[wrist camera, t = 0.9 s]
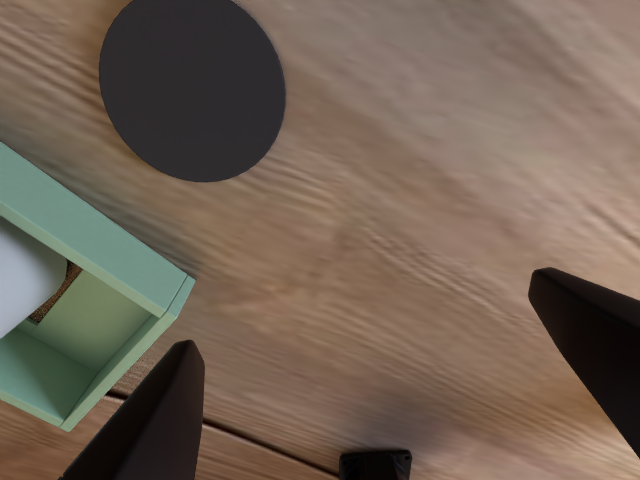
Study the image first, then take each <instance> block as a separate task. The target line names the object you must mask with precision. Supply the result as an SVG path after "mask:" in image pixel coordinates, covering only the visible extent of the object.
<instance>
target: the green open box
mask: <svg viewBox="0 0 640 480" xmlns="http://www.w3.org/2000/svg"><path fill="white" fill-rule="evenodd" d="M0 216H2V217H4V218H5V219H7V220H8V221H10V222H11V223H13V224H14V225H16V226H17V227H19V228H20V229H22V230H24V231H25V232H27V233H28V234H30V235H31V236H33V237H34V238H36V239H37V240H39V241H41V242H42V243H44V244H45V245H47V246H48V247H50V248H51V249H53V250H54V251H56V252H58V253H59V254H61V255H62V256H64V257H65V258H67V259H68V260H70V261H71V262H73V263H75V264H76V265H78V266H79V267H81V268H82V269H83V270H82V271H81V273H80V274H79V275H78V276H77V277H76V279H75V280H74V281H73V282H72V284H71V285H70V286H69V287H68V288H67V290H66V291H65V292H64V293H63V295H62V296H61V297H60V298H59V299H58V301H57V302H56V303H55V304H54V306H53V307H52V308H51V309H50V310H49V312H48V313H47V314H46V315H45V316H44V318H43V319H42V320H41V321H40V323H37V322H36V321H34V320H32V319H30V318H29V317H26V318H25V319H24V320H23V321H22V322H20V323H19V324H18V325H17V326H16V327H14V328H13V329H12V330H11V331H9V332H8V333H7V334H6V335H5V336H3V337H2V338H1V339H0V399H1V400H3V401H5V402H7V403H9V404H11V405H13V406H15V407H17V408H19V409H21V410H23V411H26V412H28V413H30V414H32V415H34V416H36V417H38V418H40V419H42V420H44V421H46V422H48V423H50V424H52V425H54V426H56V427H59V428H60V429H62V430H64V431H67V432H70V431H71V429H72V428H73V427H74V426H75V425H76V424H77V423H78V422H79V421H80V420H81V419H82V418H83V417H84V416H85V415H86V414H87V413H88V411H89V410H90V409H91V408H92V407H93V406H94V405H95V404H96V403H97V402H98V401H99V400H100V399H101V398H102V397H103V396H104V395H105V393H106V392H107V391H108V390H109V389H110V388H111V387H112V386H113V385H114V384H115V383H116V382H117V381H118V380H119V379H120V378H121V377H122V375H123V374H124V373H125V372H126V371H127V370H128V369H129V368H130V367H131V366H132V365H133V364H134V363H135V362H136V361H137V360H138V359H139V357H140V356H141V355H142V354H143V353H144V352H145V351H146V350H147V349H148V348H149V347H150V346H151V345H152V344H153V343H154V342H155V341H156V339H157V338H158V337H159V336H160V335H161V334H162V333H163V332H164V331H165V330H166V329H167V328H168V327H169V326H170V325H171V324H172V323H173V321H174V320H175V319H176V318H177V316H178V315H179V313H180V311H181V309H182V307H183V305H184V303H185V301H186V299H187V297H188V295H189V293H190V291H191V289H192V288H193V286H194V284H195V282H196V281H195V280H194V279H193V278H191V277H190V276H189V275H187V274H186V273H184V272H183V271H182V270H180V269H179V268H177V267H176V266H175V265H173V264H172V263H170V262H169V261H168V260H166V259H165V258H163V257H162V256H161V255H159V254H158V253H156V252H155V251H153V250H152V249H151V248H149V247H148V246H146V245H145V244H144V243H142V242H141V241H139V240H138V239H137V238H135V237H134V236H132V235H131V234H130V233H128V232H127V231H125V230H124V229H123V228H121V227H120V226H118V225H117V224H116V223H114V222H113V221H111V220H110V219H109V218H107V217H106V216H104V215H103V214H102V213H100V212H99V211H97V210H96V209H95V208H93V207H92V206H90V205H89V204H88V203H86V202H85V201H83V200H82V199H81V198H79V197H78V196H76V195H75V194H74V193H72V192H71V191H69V190H68V189H67V188H65V187H64V186H62V185H61V184H60V183H58V182H57V181H55V180H54V179H53V178H51V177H50V176H48V175H47V174H46V173H44V172H43V171H41V170H40V169H39V168H37V167H36V166H34V165H33V164H32V163H30V162H29V161H27V160H26V159H24V158H23V157H22V156H20V155H19V154H17V153H16V152H15V151H13V150H12V149H10V148H9V147H8V146H6V145H5V144H3V143H2V142H1V141H0Z"/></svg>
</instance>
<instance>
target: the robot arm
mask: <svg viewBox="0 0 640 480" xmlns="http://www.w3.org/2000/svg"><path fill="white" fill-rule="evenodd" d="M528 297H529V301H530V303H531V305H532V306H533V308H534V310H535V311H536V313H537V315H538V316H539V318H540V320H541V321H542V323H543V325H544V326H545V328H546V330H547V331H548V333H549V335H550V336H551V338H552V340H553V341H554V343H555V345H556V346H557V348H558V349H559V351H560V352H561V354H562V355H563V357H564V358H565V360H566V361H567V362H568V364H569V365H570V366H571V368H572V369H573V370H574V372H575V373H576V374H577V376H578V377H579V378H580V380H581V381H582V382H583V384H584V385H585V386H586V388H587V389H588V390H589V392H590V393H591V394H592V396H593V397H594V398H595V400H596V401H597V402H598V404H599V405H600V406H601V408H602V409H603V410H604V412H605V413H606V414H607V416H608V417H609V418H610V420H611V421H612V422H613V424H614V425H615V426H616V428H617V429H618V430H619V432H620V433H621V434H622V436H623V437H624V439H625V440H626V441H627V443H628V444H629V445H630V447H631V448H632V449H633V451H634V452H635V453H636V455H637V456H638V457H639V459H640V301H639V300H637V299H634V298H631V297H629V296H626V295H623V294H621V293H618V292H616V291H613V290H610V289H608V288H605V287H602V286H600V285H597V284H595V283H592V282H589V281H587V280H584V279H581V278H579V277H576V276H574V275H571V274H568V273H566V272H563V271H560V270H558V269H555V268H552V267H547V268H542V269H537V270H535V271H534V272H533V273H532V277H531V282H530V287H529V292H528ZM204 376H205V365H204V360H203V358H202V356H201V354H200V352H199V350H198V348H197V346H196V345H195V343H194V341H192V340H185V341H180V342H177V343H175V344H174V345H173V346H172V347H171V348H170V349H169V351H168V352H167V353H166V354H165V355H164V356H163V358H162V359H161V360H160V361H159V362H158V363H157V365H156V366H155V367H154V368H153V369H152V370H151V372H150V373H149V374H148V375H147V376H146V377H145V379H144V380H143V381H142V382H141V383H140V384H139V385H138V387H137V388H136V389H135V390H134V391H133V392H132V394H131V395H130V396H129V397H128V398H127V399H126V401H125V402H124V403H123V404H122V405H121V406H120V408H119V409H118V410H117V411H116V412H115V413H114V415H113V416H112V417H111V418H110V419H109V420H108V422H107V423H106V424H105V425H104V426H103V427H102V429H101V430H100V431H99V432H98V433H97V434H96V436H95V437H94V438H93V439H92V440H91V441H90V443H89V444H88V445H87V446H86V447H85V448H84V450H83V451H82V452H81V453H80V454H79V455H78V457H77V458H76V459H75V460H74V461H73V462H72V463H71V465H70V466H69V467H68V468H67V469H66V470H65V472H64V473H63V477H59V478H58V480H194V477H195V470H196V464H197V457H198V451H199V444H200V438H201V431H202V420H203V399H204ZM411 461H412V455H411V452H410V451H409V450H398V451H385V452H371V453H358V454H345V455H342V456H341V457H340V461H339V480H409V476H410V469H411Z"/></svg>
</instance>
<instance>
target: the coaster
mask: <svg viewBox="0 0 640 480" xmlns="http://www.w3.org/2000/svg"><path fill="white" fill-rule="evenodd" d="M99 81H100V88H101V94H102V98H103V101H104V105H105V108H106V110H107V113H108V115H109V118H110V120H111V121H112V123H113V125H114V127H115V129H116V130H117V132H118V133H119V135H120V136H121V138H122V139H123V140H124V142H125V143H126V144H127V145H128V146H129V147H130V148H131V150H132V151H133V152H135V153H136V154H137V155H138V156H139V157H140V158H141V159H142V160H144V161H145V162H147V163H148V164H149V165H151V166H152V167H154V168H156V169H157V170H159V171H161V172H163V173H165V174H168V175H170V176H172V177H176V178H179V179H182V180H187V181H193V182H216V181H221V180H226V179H229V178H232V177H235V176H237V175H239V174H241V173H243V172H245V171H247V170H248V169H250V168H251V167H253V166H254V165H255V164H256V163H257V162H259V161H260V160H261V159H262V158H263V157H264V155H265V154H266V153H267V152H268V150H269V149H270V148H271V146H272V144H273V143H274V141H275V139H276V137H277V135H278V133H279V130H280V128H281V124H282V121H283V117H284V110H285V94H286V93H285V83H284V77H283V73H282V68H281V65H280V62H279V59H278V56H277V54H276V52H275V50H274V48H273V46H272V44H271V42H270V40H269V39H268V37H267V36H266V34H265V32H264V31H263V30H262V29H261V27H260V26H259V25H258V24H257V22H256V21H255V20H254V19H253V18H252V17H251V16H250V15H249V14H248V13H247V12H246V11H244V10H243V9H242V8H240V7H239V6H238V5H237V4H235V3H234V2H232V1H230V0H133V1H132V2H131V3H130V4H128V5H127V6H126V7H125V8H124V9H123V10H122V11H121V12H120V13H119V15H118V16H117V17H116V18H115V20H114V21H113V23H112V25H111V26H110V28H109V30H108V32H107V34H106V37H105V39H104V42H103V46H102V50H101V54H100V63H99Z"/></svg>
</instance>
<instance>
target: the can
mask: <svg viewBox="0 0 640 480" xmlns="http://www.w3.org/2000/svg"><path fill="white" fill-rule="evenodd" d="M66 269H67V260H66V258H65V257H64V256H62V255H61V254H59V253H58V252H56V251H54V250H53V249H51V248H50V247H48V246H47V245H45V244H44V243H42V242H41V241H39V240H37V239H36V238H34V237H33V236H31V235H30V234H28V233H27V232H25V231H24V230H22V229H20V228H19V227H17V226H16V225H14V224H13V223H11V222H10V221H8V220H7V219H5V218H4V217H2V216H0V339H1V338H2V337H3V336H5V335H6V334H7V333H8V332H9V331H11V330H12V329H13V328H14V327H16V326H17V325H18V324H19V323H20V322H22V321H23V320H24V319H25V318H26V317H28V316H29V315H30V314H31V313H33V312H34V311H35V310H36V309H37V308H39V307H40V306H41V305H42V304H43V303H45V302H46V301H47V300H48V299H49V298H51V297H52V296H53V295H54V294H56V293H57V291H58V290H59V288H60V287H61V285H62V283H63V282H64V280H65V276H66Z"/></svg>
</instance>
